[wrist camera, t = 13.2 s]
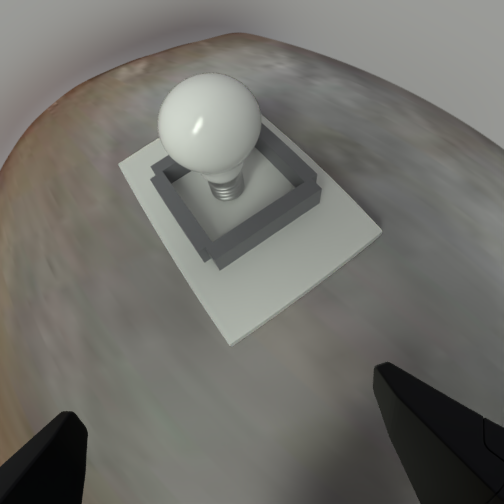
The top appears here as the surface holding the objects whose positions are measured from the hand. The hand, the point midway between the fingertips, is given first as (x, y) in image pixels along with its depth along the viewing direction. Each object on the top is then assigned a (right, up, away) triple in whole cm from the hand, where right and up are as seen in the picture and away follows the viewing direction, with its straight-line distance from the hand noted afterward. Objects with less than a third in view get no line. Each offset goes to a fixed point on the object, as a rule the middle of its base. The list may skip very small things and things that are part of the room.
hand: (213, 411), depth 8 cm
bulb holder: (0, +9, +19) cm, 21 cm away
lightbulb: (-1, +9, +18) cm, 20 cm away
